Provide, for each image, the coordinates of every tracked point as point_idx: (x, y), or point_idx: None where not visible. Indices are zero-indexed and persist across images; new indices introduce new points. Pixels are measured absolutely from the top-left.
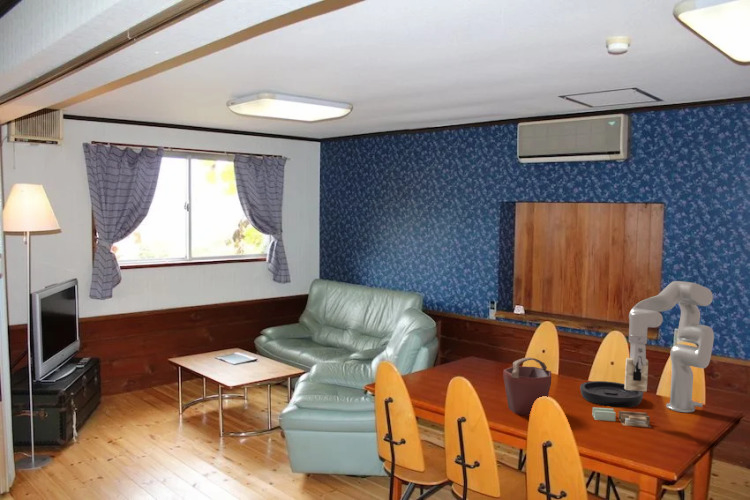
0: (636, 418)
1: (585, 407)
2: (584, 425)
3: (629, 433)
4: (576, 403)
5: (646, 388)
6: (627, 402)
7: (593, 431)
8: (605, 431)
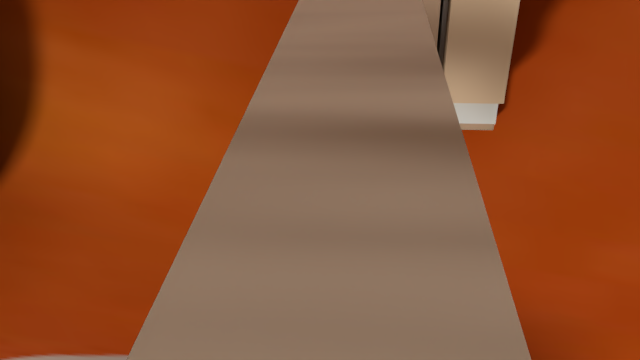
0: (512, 45)
1: (93, 268)
2: None
3: (634, 102)
4: (32, 300)
5: (421, 5)
6: None
7: (590, 311)
8: (588, 249)
